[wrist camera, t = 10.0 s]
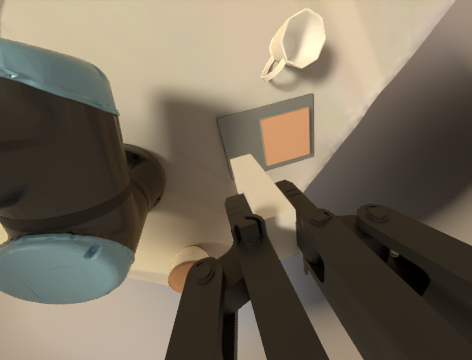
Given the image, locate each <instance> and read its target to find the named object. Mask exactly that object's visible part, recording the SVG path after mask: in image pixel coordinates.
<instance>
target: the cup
mask: <svg viewBox="0 0 472 360" xmlns="http://www.w3.org/2000/svg"><path fill="white" fill-rule="evenodd" d="M325 40H326V35H325V29H324V24H323V19H322V16H320V15H318V14H317V13H315V12H313V11H311V10H310V9H308V8H305V9H303V10H301V11H300V12H298V13H296V14H295V15H293V16H292V17H290V18H288V19H287V20H286V22H285V23H284V24H283V25H282V26H281V27H280V29H279V30H278V31H277V33H276V35H275V37H273V38H272V41H271V44H270V47H269V51H270V54H271V58H270V59H269V61H268V62H267V64H266V66H265V68H264V70H263V72H262V74H261V78H262V79H263V80H264V81H268V80H270V79H272V78H273V77H274V76H276V75H277V74H278V73H279V72H280V71H281V69H282V68H283V67H284V66H285V64H286V65H289V66H293V67H297V68H301V69H302V68H304V67H305V66H307V65H309V64H310V63H312V62H314V61H316V60H317V59H318V57H319V55H320V52H321V50H322V47H323V45H324V43H325ZM274 60H276V61H278V62H279V64H278V65H277V67H276V68H275V69H274V70H273V71H272V72H271V73H269V74H268V75H266V74H267V72H268V70H269V68H270V66H271V64H272V63H273V62H274Z"/></svg>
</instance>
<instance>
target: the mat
mask: <svg viewBox="0 0 472 360" xmlns="http://www.w3.org/2000/svg"><path fill="white" fill-rule="evenodd" d="M304 106H305V107H309V138H310V154H307V155H304V156H300V157H297V158H294V159H290V160H287V161H283V162H280V163H277V164H273V165H270V166H267V165H266V164H265V161H264V154H263V148H262V141H261V134H260V127H259V121H258V119H260V118H263V117H267V116H271V115H275V114H278V113H282V112H286V111H289V110H293V109H297V108H300V107H304ZM217 122H218V126H219V130H220V133H221V137H222V141H223V145H224V149H225V153H226V157H227V161H228V165H229V169H230V172H231V176H232V180H235V179H234V175H233V171H232V167H231V163H230V159H233V158H237V157H240V156H244V155H247V154H251V155H252V156H253V158H254V159H255V160H256V161H257V163H258V164H259V165H260V166H261V167H262V169H263V170H264V171H266V170H270V169H273V168H277V167H280V166H283V165H287V164H290V163H294V162H297V161H300V160H304V159H307V158H311V157H313V94H308V95H304V96H300V97H296V98H293V99H289V100H285V101H281V102H278V103H274V104H270V105H266V106H262V107H259V108H255V109H251V110H247V111H244V112H240V113H236V114H232V115H229V116H225V117H221V118H217Z"/></svg>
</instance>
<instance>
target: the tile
mask: <svg viewBox="0 0 472 360" xmlns="http://www.w3.org/2000/svg"><path fill="white" fill-rule="evenodd" d="M258 121H259V127H260V134H261V141H262V148H263V154H264V161H265V164H266V165H267V166H270V165H273V164H277V163H280V162H283V161H287V160H290V159H294V158H297V157H300V156H304V155H307V154H310V138H309V107H305V106H304V107H300V108H297V109H293V110H289V111H286V112H282V113H278V114H275V115H271V116H267V117H263V118H260V119H258Z"/></svg>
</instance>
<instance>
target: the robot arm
mask: <svg viewBox="0 0 472 360" xmlns="http://www.w3.org/2000/svg"><path fill="white" fill-rule="evenodd" d="M118 116H120V114H119V112H118V110H116V107H115V103H114V99H113V95H112V91H111V87H110V83H109V81H108V79H107V77H106V75H105V74H104V73H103V72H102V71H101V70H100V69H99V68H97V67H96V66H95V65H93V64H91V63H89V62H86V61H84V60H81V59H78V58H75V57H72V56H69V55H66V54H62V53H58V52H55V51H51V50H48V49H44V48H40V47H36V46H32V45H28V44H24V43H20V42H16V41H12V40H8V39H3V38H0V223H1V224H2V226H3V228H4V229H5V231H6V232H7V234H8V240H7V241H6V242H4V243H2V244H1V245H0V291H2V292H4V293H6V294H8V295H10V296H13V297H16V298H19V299H22V300H26V301H31V302H38V303H45V304H73V303H81V302H86V301H90V300H94V299H97V298H100V297H102V296H105V295H106V294H109V293H110V292H111V291H113V290H114V289H116V288H117V287H118V286H120V285H121V284H122V282H123V281H124V279H125V278H126V276H127V274H128V272H129V269H130V267H131V265H132V264H133V262H134V260H135V252H136V249H137V246H138V243H139V239H140V236H141V233H142V230H143V227H144V223H145V220H146V217H147V213H148V212H149V211H150V210H151V209H152V208H154V207H155V206H156V205H157V204H158V202H159V201H160V199H161V198H162V196H163V193H164V189H165V183H166V180H165V174H164V171H163V169H162V167H161V165H160V164H159V162H158V161H157V160H156V159H155V158H154V157H153V156H152V155H151V154H149V153H148V152H146V151H145V150H143V149H141V148H138V147H136V146H133V145H128V144H123V139H122V133H121V128H120V123H119V118H118ZM230 163H231V167H232V171H233V175H234V179H235V183H236V187H237V191H238V194H239V195H235V196H232V197H229V198H227V199H226V202H225V208H226V211H227V215H228V219H229V222H230V226H231V233H232V236H233V239H234V241H233V245H232V247H231V248H230V250H229V251H228V252H227V253H226V254H224V255H223V256H221V257H220V258H218V259H215V258H213V257H206V258H203V259H200V260H198V261H197V262H195V263H194V264H193V265H192V267H191V268H190V269H189V271H188V273H187V276H186V280H185V284H184V288H183V291H182V296H181V300H180V303H179V307H178V311H177V315H176V318H175V322H174V326H173V330H172V334H171V338H170V341H169V345H168V349H167V353H166V357H165V360H237V338H238V336H237V334H238V309H239V308H241V307H242V306H243V305H244V304H246V303H247V302H248V301H249V300H251V303H252V307H253V310H254V314H255V318H256V322H257V325H258V329H259V332H260V336H261V340H262V343H263V347H264V350H265V354H266V358H267V360H329V358H328V356H327V354H326V352H325V350H324V348H323V346H322V344H321V342H320V340H319V338H318V336H317V334H316V332H315V330H314V328H313V326H312V324H311V322H310V320H309V318H308V316H307V314H306V312H305V310H304V308H303V306H302V304H301V302H300V300H299V298H298V296H297V294H296V292H295V290H294V288H293V286H292V284H291V282H290V280H289V278H288V276H287V274H286V272H285V270H284V268H283V266H282V264H281V262H280V260H283V259H286V258H288V257H291V256H294V255H297V254H298V247H299V249H300V250H301V252H302V253H303V262H304V272H305V275H307V274H308V270H309V272H310V273H311V275H312V276H313V278H314V280H315V281H316V283H317V284H318V286H319V288H320V289H321V291H322V293H323V294H324V296H325V298H326V299H327V301H328V302H329V304H330V306H331V307H332V309H333V310H334V312H335V314H336V315H337V317H338V318H339V320H340V322H341V324H342V325H343V327H344V328H345V330H346V332H347V333H348V335H349V336H350V338H351V340H352V341H353V343H354V344H355V346H356V348H357V350H358V351H359V353H360V354H361V356H362V358H363V359H364V360H472V246H471V245H469V244H466V243H464V242H462V241H460V240H458V239H456V238H453V237H451V236H449V235H447V234H445V233H442V232H440V231H438V230H436V229H434V228H432V227H429V226H427V225H425V224H423V223H421V222H418V221H416V220H414V219H412V218H410V217H408V216H405V215H403V214H401V213H399V212H397V211H395V210H392V209H390V208H388V207H385V206H382V205H376V204H368V205H363V206H361V207H360V208H359V209H358V210H357V215H349V216H348V215H347V216H335V215H334V214H332V213H331V212H330V211H327V210H325V209H319V208H317V207H316V206H315V205H314V204H313V203H312V202H311V201H310V200H309V199H308V198H307V197H306V196H305V195H304V194H303V193H302V192H301V191H300V190H299V189H298V188H297V187H296V186H295V185H294V184H293V183H291V182H289V181H287V180H283V181H280V182H276V183H274V182H273V181H272V180H271V179H270V177H269V176H268V175H267V174H266V172H265V171H264V170H263V169H262V167H261V166H260V165H259V164H258V163H257V161H256V160H255V159H254V158H253V156H252V155H251V154H247V155H244V156H240V157H237V158H233V159H230ZM391 250H393V251H395V252H396V253H398V254H399V255H397V254H394V253H392V252H390V251H391Z"/></svg>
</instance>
